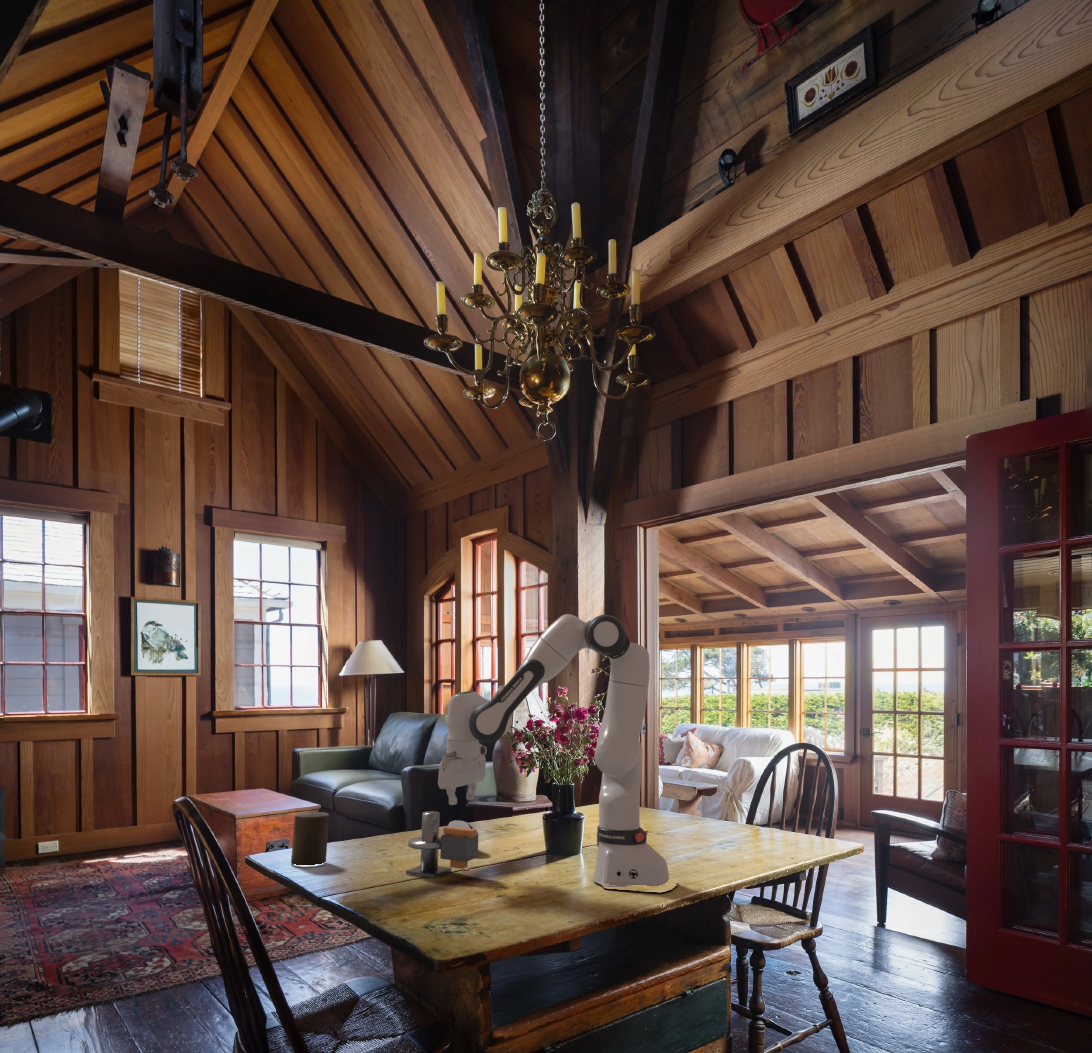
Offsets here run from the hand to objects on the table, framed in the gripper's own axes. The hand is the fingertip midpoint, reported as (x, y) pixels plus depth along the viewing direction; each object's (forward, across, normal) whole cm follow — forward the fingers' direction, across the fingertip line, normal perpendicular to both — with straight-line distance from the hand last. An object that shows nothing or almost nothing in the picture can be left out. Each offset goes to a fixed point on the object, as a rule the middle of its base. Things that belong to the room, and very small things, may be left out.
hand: (461, 802), depth 230 cm
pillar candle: (+19, -7, +46) cm, 50 cm away
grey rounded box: (+20, +28, +17) cm, 38 cm away
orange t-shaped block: (+17, 0, +1) cm, 17 cm away
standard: (+20, 0, +6) cm, 21 cm away
